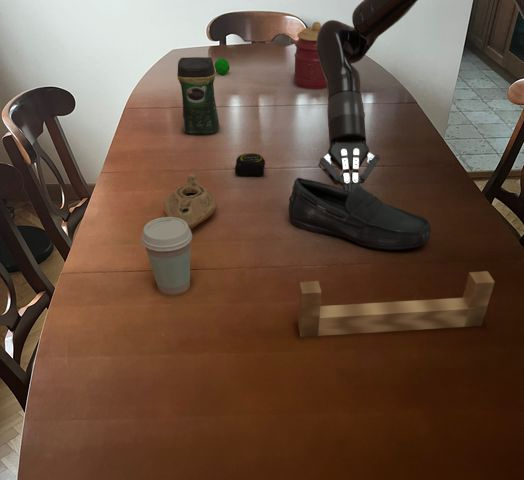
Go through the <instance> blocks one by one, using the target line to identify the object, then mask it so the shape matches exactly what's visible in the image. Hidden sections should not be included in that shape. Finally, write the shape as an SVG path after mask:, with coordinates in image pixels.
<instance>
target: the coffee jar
mask: <svg viewBox="0 0 524 480" xmlns="http://www.w3.org/2000/svg"><path fill="white" fill-rule="evenodd" d="M177 62H178V63H177V80H178V83H179V84H180V89H181V97H182V99H181V100H182V128H183V132H184V133H185V134H187V135H189V136H211V135H214V134H216V133H218V132H219V129H220V121H219V115H218V110H217V104H216V96H215V88H214V86H215V85H214V82H215V80H216V79H215V78H216V70H215V66H214V65H215V64H214V61H213V57H210V56H207V57H206V56H202V57H200V56H193V57H180V59H179V60H178V61H177Z"/></svg>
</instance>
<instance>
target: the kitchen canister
mask: <svg viewBox="0 0 524 480" xmlns="http://www.w3.org/2000/svg"><path fill="white" fill-rule="evenodd" d="M321 26H322V24H321V22H319V21H314V22H313V23H312V26H310V27H305V28H303V29H302V30H301V31H299V32H298V33H297V38H298V39H297V40H295V42H294V46H295V47H296V48H295V49H296V50H295V53H294V74H293V81H294V85H295V86H297V87H298V88H301V89H305V90H324V89H327V82H326V79H325V76H324V74H323V71H322V67H321V64H320V61H319V58H318V54H317V49H316V40H317V35H318V32H319V30H320V28H321Z"/></svg>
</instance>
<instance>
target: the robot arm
mask: <svg viewBox="0 0 524 480" xmlns="http://www.w3.org/2000/svg"><path fill="white" fill-rule="evenodd" d="M418 1H419V0H362V1H361V2H360V3H359V4H358V5H357V6H356V7H355V8H354V10H353V11H352V15H351V21H352V26H351V25H349V24H347V23H343V22H341V21H339V20H337V19H336V20H335V19H330V20H327V21H325V22H324V23H322V24H321V28H320V30H319V32H318V35H317V40H316V49H317V54H318V58H319V61H320V64H321V67H322V71H323V74H324V76H325V79H326V82H327V88H326V92H327V93H326V94H327V95H326V96H327V109H326V111H327V112H326V113H327V127H328V128H327V130H328V144H329V145H328V146H329V148H328V149H327V153H326V154H325V156H322V157H320V159H319V161H318V164H317V165H318V167H319V168H320V170H322V172H323V173H324V174H325V175H326V176H327V178H329V180H331V182H332V183H333V184H334V185H340V186H342V189H343V190H347V191H350V192H352V190H353V189H354V188H355V187H356V186H357V185H358V184H359V185H360V184H364V183H365V181H366V180H367V179H368V177H369V175H370V174H371V173H372V171H373V170H374V168H375V167H376V165H377V164H378V162H379V161H380V158H381V157H380V156H379V154H375V155H374V154H373V153H372V152H370V147H369V146H368V145H367V136H366V135H367V133H366V121H365V118H366V113H365V106H364V102H363V95H362V81H361V74H360V72H359V70H358V69H357V68H356V67H355V66H354V64H357V63H358V62H360V61H361V60H362V59H363V58H364V57H365V56H366V54H367V53H368V52H369V50H370V49H371V48H372V46H373V45H374V43H376V41H377V39H378V38H379V37H380V36H382V34H384V33H385V32H387V31H388V30H389V29H390V28H392V27H393V26H394V25H395V24H397V23H398V22H399V21H401V19H403V18H404V17H405V16H406V15H407V14H408V13H409V12H410V10H411V9H412V8H413V7H414V6H415V5H416V3H417V2H418ZM513 2H514V3H515V5H516V8H517V9H518V11H519V13H520V15H521V17H522V19H523V20H524V0H513ZM365 159H366V161H365ZM364 162H366V163H365V164H366V165H367V166H366V168H365V169H364V170H363V172H362V173H361V175H359V172H360V167H361V166H362V165H363V163H364ZM332 163H333V164H334V166H335V167H336V168H337V169H338V170H339V172H338V171H337V169H335V167H333V165H332Z"/></svg>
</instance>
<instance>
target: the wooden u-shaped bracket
mask: <svg viewBox="0 0 524 480" xmlns="http://www.w3.org/2000/svg"><path fill="white" fill-rule="evenodd" d="M467 276H468V277H467V280H466V284H465V287H464V291H463V295H462V297H453V298H452V297H451V298H438V299H437V298H436V299H435V298H433V299H419V300H418V299H417V300H402V301H399V300H398V301H384V302H368V303H366V302H365V303H350V304H335V305H332V304H331V305H321V304H322V288H321V286H320V281H319V280H310V281H300V282H299V286H298V287H299V288H298V290H299V291H298V320H297V327H298V332H299V337H301V338H305V337H320V336H336V335H337V336H339V335H352V334H353V335H354V334H355V335H356V334H370V333H371V334H372V333H386V332H388V333H389V332H402V331H419V330H420V331H421V330H436V329H437V330H438V329H449V328H450V329H451V328H467V327H481V326H482V325H483V322H484V319H485V316H486V313H487V309H488V306H489V302H490V299H491V296H492V292H493V289H494V285H495V280H494V278H493V277H492V276H491V274H490V272H489V271H488V270H487V271H486V270H484V271H469V272H468V275H467Z"/></svg>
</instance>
